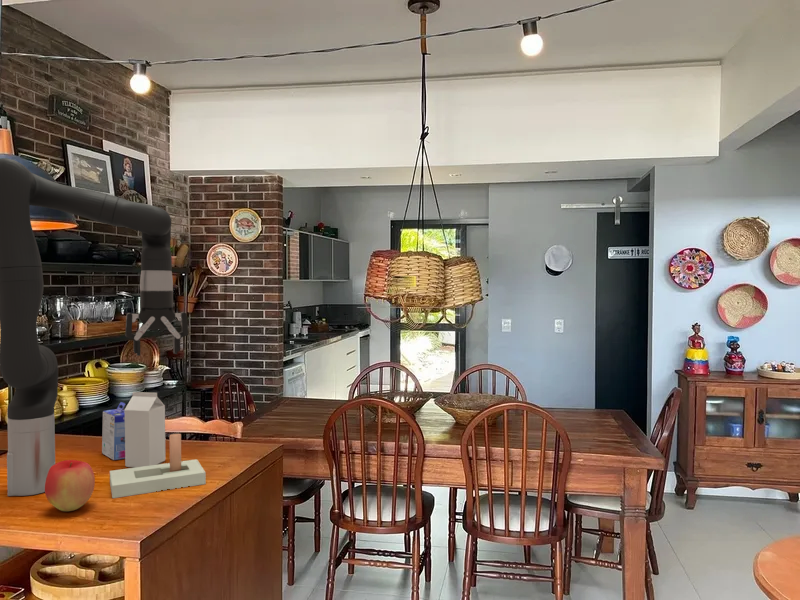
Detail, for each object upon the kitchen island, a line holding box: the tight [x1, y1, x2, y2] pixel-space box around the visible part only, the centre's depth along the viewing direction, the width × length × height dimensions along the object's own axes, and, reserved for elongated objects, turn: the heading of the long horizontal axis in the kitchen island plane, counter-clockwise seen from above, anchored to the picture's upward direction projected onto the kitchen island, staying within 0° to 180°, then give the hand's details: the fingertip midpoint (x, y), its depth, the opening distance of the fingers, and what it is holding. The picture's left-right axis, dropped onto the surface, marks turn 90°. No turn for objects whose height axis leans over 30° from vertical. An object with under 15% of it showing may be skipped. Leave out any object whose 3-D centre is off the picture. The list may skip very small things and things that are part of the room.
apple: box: [44, 459, 96, 512], centre depth 126 cm, size 10×10×10 cm
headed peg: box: [169, 433, 182, 472], centre depth 145 cm, size 5×5×11 cm
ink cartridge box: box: [101, 401, 127, 461], centre depth 166 cm, size 10×6×14 cm, turn 44°
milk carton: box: [124, 391, 166, 468], centre depth 158 cm, size 7×7×19 cm
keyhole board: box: [109, 458, 207, 499], centre depth 143 cm, size 20×12×3 cm, turn 118°
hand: (157, 354), depth 149 cm, fingers open, 8 cm apart
